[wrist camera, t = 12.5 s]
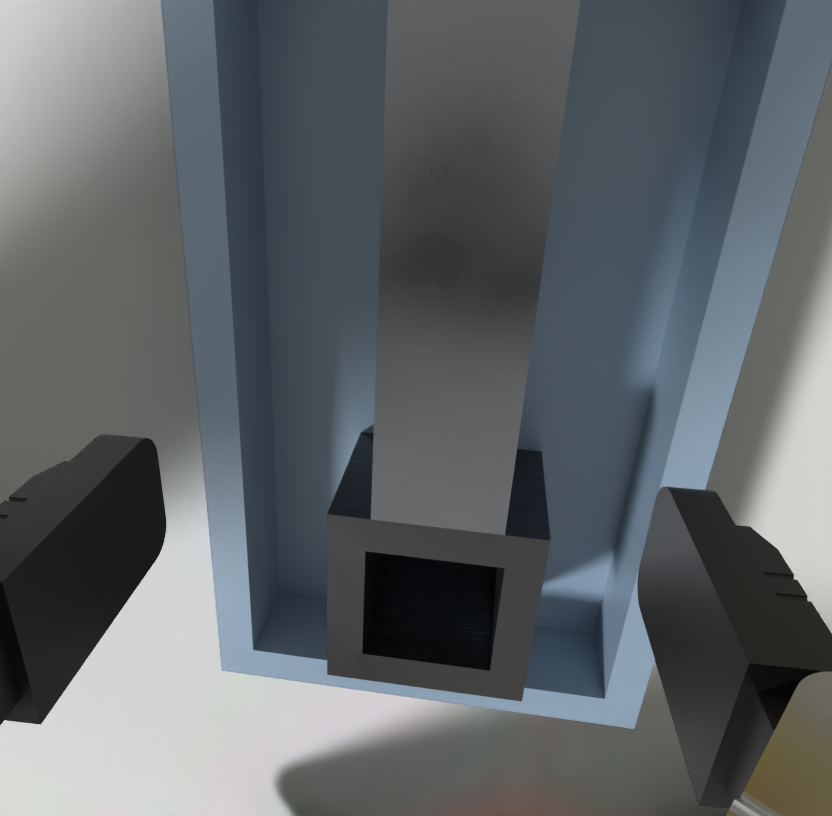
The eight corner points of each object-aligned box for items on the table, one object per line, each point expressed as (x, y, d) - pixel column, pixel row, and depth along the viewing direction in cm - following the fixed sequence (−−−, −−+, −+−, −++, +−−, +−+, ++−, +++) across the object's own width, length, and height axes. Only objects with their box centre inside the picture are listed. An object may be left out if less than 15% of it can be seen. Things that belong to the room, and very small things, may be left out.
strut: (370, 8, 14) (325, -18, 11) (610, 21, 14) (647, -1, 10) (357, 573, 21) (327, 674, 17) (518, 593, 21) (521, 701, 17)
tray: (260, 590, 23) (221, 670, 20) (223, -114, 14) (145, -168, 11) (616, 637, 22) (634, 729, 19) (801, -87, 14) (891, -139, 10)
